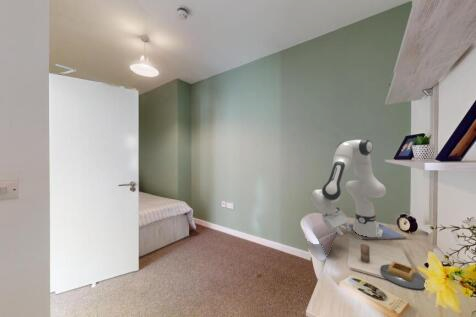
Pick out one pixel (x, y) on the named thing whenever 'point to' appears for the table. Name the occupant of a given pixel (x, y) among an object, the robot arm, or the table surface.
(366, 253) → the walnut post
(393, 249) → the table surface
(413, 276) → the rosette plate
